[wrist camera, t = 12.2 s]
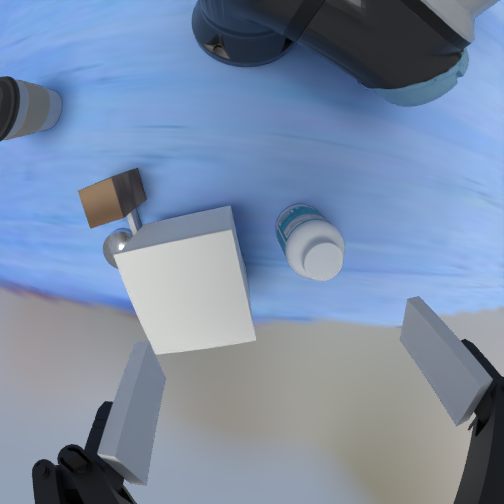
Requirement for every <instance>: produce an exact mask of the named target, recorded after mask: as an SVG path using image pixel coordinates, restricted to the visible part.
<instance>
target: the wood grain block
mask: <svg viewBox="0 0 504 504" xmlns="http://www.w3.org/2000/svg"><path fill="white" fill-rule="evenodd" d="M78 192H79V196H80V199H81V202H82V205H83V208H84V211H85V214H86V217H87V220H88V223H89V226H90V229H91V228H94V227H97V226H100V225H103V224H106V223H109V222H112V221H116V220H119V219H122V218H124V217H126V216H127V218H128V221H129V224H130V227H131V230H132V233H133V236H134V235H135V234H136V233H137V232H138V231H139V229H140V228H141V227H142V225H141V222H140V219H139V216H138V213H137V210H136V208H137V207H138V206H139V205H140V204H142V203H143V202H144V201H145V200H147V199H146V195H145V192H144V189H143V185H142V182H141V178H140V175H139V171H138V168H136V169H133V170H130V171H127V172H124V173H121V174H119V175H116V176H113V177H110V178H108V179H105V180H103V181H100V182H98V183H95V184H93V185H91V186H88V187H86V188H83V189H81V190H79V191H78Z"/></svg>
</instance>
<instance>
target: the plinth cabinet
mask: <svg viewBox="0 0 504 504" xmlns="http://www.w3.org/2000/svg"><path fill="white" fill-rule="evenodd" d="M114 258H115V261H116V264H117V266H118V269H119V272H120V274H121V277H122V279H123V282H124V284H125V287H126V289H127V292H128V294H129V297H130V299H131V302H132V304H133V306H134V309H135V311H136V313H137V315H138V318H139V320H140V322H141V324H142V327H143V329H144V331H145V333H146V335H147V337H148V339H149V341H150V344H151V346H152V348H153V350H154V352H155V354H165V353H174V352H183V351H191V350H198V349H206V348H212V347H219V346H225V345H232V344H238V343H244V342H250V341H256V333H255V329H254V325H253V320H252V312H251V303H250V293H249V284H248V276H247V271H246V266H245V262H244V257H243V254H241V251H240V247H239V242H238V237H237V233H236V228H235V223H234V219H233V214H232V209H231V205H230V206H225V207H220V208H215V209H210V210H206V211H201V212H196V213H192V214H187V215H183V216H178V217H174V218H170V219H165V220H161V221H157V222H153V223H148V224H144V225H143V226H142V227H141V228H140V229H139V231H138V232H137V233H136V234H135V235H134V236H133V237H132V238H131V239H130V241H129V242H128V243H127V244H126V245H125V246H124V247H123V248H122V250H121V251H118V252H115V254H114Z"/></svg>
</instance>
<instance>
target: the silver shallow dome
mask: <svg viewBox="0 0 504 504" xmlns="http://www.w3.org/2000/svg"><path fill="white" fill-rule="evenodd" d="M132 237H133V233H132V231H131V230H129V229H124V228H122V229H117V230H115V231H114V232H113V233H112V234H111V235H110V236H108V237H107V238H106V240H105V242H104V245H103V253H104V256H105V258H106V260H107V261H108V263H109V264H111V265H112V266H113V267H115V268H117V269H118V266H117V264H116V261H115V258H114V254H115V252H118V251H121V250H122V248H123V247H124V246H125V245H126V244H127V243H128V242H129V241H130V239H131V238H132Z"/></svg>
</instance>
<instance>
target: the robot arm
mask: <svg viewBox="0 0 504 504" xmlns="http://www.w3.org/2000/svg"><path fill="white" fill-rule="evenodd" d="M499 1H500V0H198V2H197V4H196V6H195V8H194V10H193V14H192V29H193V32H194V35H195V38H196V40H197V42H198V44H199V45H200V47H201V48H202V49H203V50H204V51H205V52H206V53H207V54H208V55H210V56H211V57H213V58H214V59H216V60H218V61H220V62H223V63H226V64H229V65H233V66H241V67H252V66H259V65H264V64H267V63H270V62H272V61H274V60H276V59H278V58H280V57H281V56H283V55H284V54H285V53H286V52H287V51H288V50H289V49H290V48H291V47H292V45H293V44H294V42H295V43H297V44H299V45H301V46H303V47H305V48H306V49H308V50H310V51H312V52H314V53H315V54H317V55H319V56H320V57H322V58H324V59H325V60H327V61H329V62H330V63H332V64H333V65H335V66H337V67H338V68H340V69H341V70H343V71H344V72H346V73H347V74H349V75H350V76H352V77H353V78H355V79H356V80H357V82H358V83H359V84H360V85H361V86H363V87H364V88H366V89H369V90H371V91H373V92H375V93H376V94H378V95H379V96H381V97H382V98H383V99H385V100H386V101H388V102H390V103H392V104H396V105H398V106H404V107H411V106H418V105H422V104H426V103H428V102H431V101H433V100H435V99H437V98H439V97H441V96H442V95H444V94H445V93H447V92H448V91H450V90H451V89H452V88H453V87H454V86H455V85H456V84H457V78H459V77H462V76H463V75H464V74H465V72H466V70H467V67H468V62H469V56H468V52H467V49H466V47H467V46H468V45H469V44H471V43H472V42H474V40H475V38H474V21H475V18H476V17H477V16H479V15H480V14H482V13H483V12H484V11H486V10H487V9H489V8H490V7H491V6H493V5H494V4H496V3H497V2H499ZM400 341H401V342H402V344H403V345H404V347H405V348H406V349H407V351H408V352H409V354H410V355H411V356H412V358H413V359H414V361H415V363H416V364H417V365H418V367H419V368H420V370H421V371H422V373H423V374H424V376H425V377H426V379H427V380H428V382H429V384H430V385H431V387H432V388H433V389H434V391H435V393H436V394H437V396H438V397H439V399H440V401H441V402H442V404H443V405H444V407H445V409H446V410H447V412H448V414H449V415H450V417H451V418H452V420H453V422H454V423H455V425H456V426H458V425H460V424H461V423H463V422H465V421H467V420H468V419H469V418H470V416H471V415H472V414H473V412H474V413H475V414H476V417H475V419H474V420H473V422H472V423H471V424H470V426H469V428H468V430H470V429H471V428H472V426H473V431H472V437H471V443H470V447H469V451H468V456H467V460H466V464H465V468H464V472H463V475H462V479H461V482H460V485H459V489H458V492H457V495H456V498H455V501H454V504H504V377H502V376H501V375H500V374H499V373H498V372H497V370H496V369H495V368H494V367H493V366H492V365H491V363H490V362H489V361H488V360H487V359H486V358H485V357H484V355H483V354H482V353H481V352H480V351H479V349H478V348H477V347H476V346H475V345H474V344H473V343H471V342H470V341H468V340H466V339H464V340H461V341H460V340H459V339H458V338H457V336H456V335H454V333H453V332H452V331H451V330H450V329H449V328H448V326H447V325H446V324H445V323H444V322H443V321H442V320H441V319H440V318H439V317H438V316H437V315H436V314H435V313H434V311H433V310H432V309H431V308H430V307H429V306H428V305H427V304H426V303H425V302H424V301H423V300H422V299H421V298H420V297H419V296H418V297H414V298H410V299H407V304H406V310H405V315H404V321H403V326H402V332H401V336H400ZM165 381H166V377H165V375H164V373H163V371H162V369H161V366H160V364H159V362H158V360H157V358H156V355H155V353H154V351H153V348H152V346H151V344H150V341H138V342H135V345H134V347H133V350H132V353H131V355H130V357H129V360H128V363H127V365H126V368H125V371H124V373H123V376H122V379H121V382H120V385H119V388H118V390H117V393H116V396H115V399H114V402H108V401H105V402H104V403H103V404H102V405H101V406H100V408H99V409H98V411H97V414H96V417H95V420H94V423H93V425H92V428H91V431H90V434H89V437H88V440H87V443H86V446H85V449H84V450H83V449H82V448H81V447H80V446H78V445H74V444H71V445H68V446H65V447H64V448H63V449H61V451H60V452H59V454H58V458H57V459H58V464H59V465H54V464H53V463H52V462H51V461H49V460H46V459H42V460H39V461H38V462H37V463H35V465H34V467H33V469H32V478H33V490H34V499H35V504H137V503H136V502H135V501H134V499H133V498H132V496H131V495H130V493H129V492H128V490H127V489H126V487H125V486H124V485H123V482H124V479H125V480H127V481H128V482H129V483H131V484H138V485H147V479H148V473H149V466H150V460H151V454H152V448H153V442H154V437H155V431H156V425H157V421H158V416H159V410H160V405H161V400H162V395H163V390H164V385H165Z"/></svg>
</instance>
